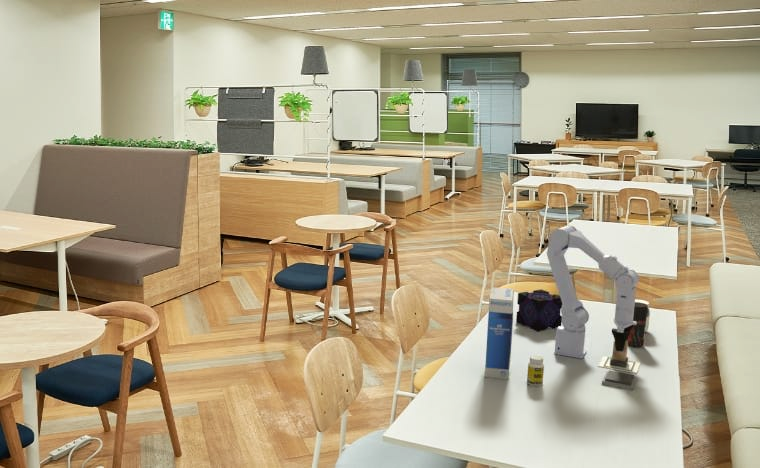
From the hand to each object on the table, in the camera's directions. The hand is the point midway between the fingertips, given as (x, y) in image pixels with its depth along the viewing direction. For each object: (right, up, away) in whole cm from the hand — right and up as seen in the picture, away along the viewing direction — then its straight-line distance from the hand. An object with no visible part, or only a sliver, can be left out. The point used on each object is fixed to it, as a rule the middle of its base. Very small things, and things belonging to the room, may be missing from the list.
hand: (621, 347), depth 237 cm
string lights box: (-42, -7, -6) cm, 43 cm away
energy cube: (-18, +2, +40) cm, 44 cm away
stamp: (0, -6, +1) cm, 6 cm away
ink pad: (-5, -9, -13) cm, 16 cm away
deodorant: (+12, -3, +21) cm, 24 cm away
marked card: (0, -6, +1) cm, 6 cm away
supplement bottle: (-32, -9, -15) cm, 36 cm away
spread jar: (+17, 0, +37) cm, 41 cm away
